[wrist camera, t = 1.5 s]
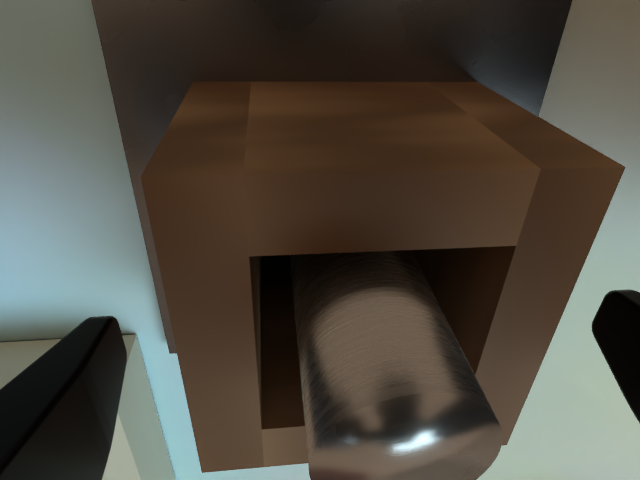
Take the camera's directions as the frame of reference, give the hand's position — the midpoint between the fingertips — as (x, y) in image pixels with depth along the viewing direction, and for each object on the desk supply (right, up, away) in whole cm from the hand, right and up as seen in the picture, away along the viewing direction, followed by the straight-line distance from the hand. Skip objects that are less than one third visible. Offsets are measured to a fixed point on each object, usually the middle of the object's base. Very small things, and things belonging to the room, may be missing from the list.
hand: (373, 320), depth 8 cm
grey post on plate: (-1, +3, +4) cm, 5 cm away
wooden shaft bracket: (-1, +2, +4) cm, 4 cm away
